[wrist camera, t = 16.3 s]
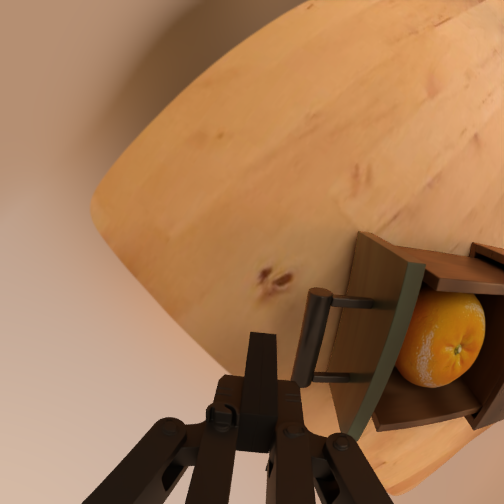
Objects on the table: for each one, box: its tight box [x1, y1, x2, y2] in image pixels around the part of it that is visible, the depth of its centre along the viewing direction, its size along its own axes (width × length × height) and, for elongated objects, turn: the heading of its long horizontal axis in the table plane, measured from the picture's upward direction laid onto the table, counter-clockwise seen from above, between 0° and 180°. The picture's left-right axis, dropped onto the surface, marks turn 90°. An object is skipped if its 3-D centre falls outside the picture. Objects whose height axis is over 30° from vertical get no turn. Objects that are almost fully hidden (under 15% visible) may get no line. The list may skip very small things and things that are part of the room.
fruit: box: [395, 285, 485, 388], centre depth 18 cm, size 8×9×8 cm
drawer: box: [290, 231, 504, 441], centre depth 18 cm, size 19×13×9 cm
